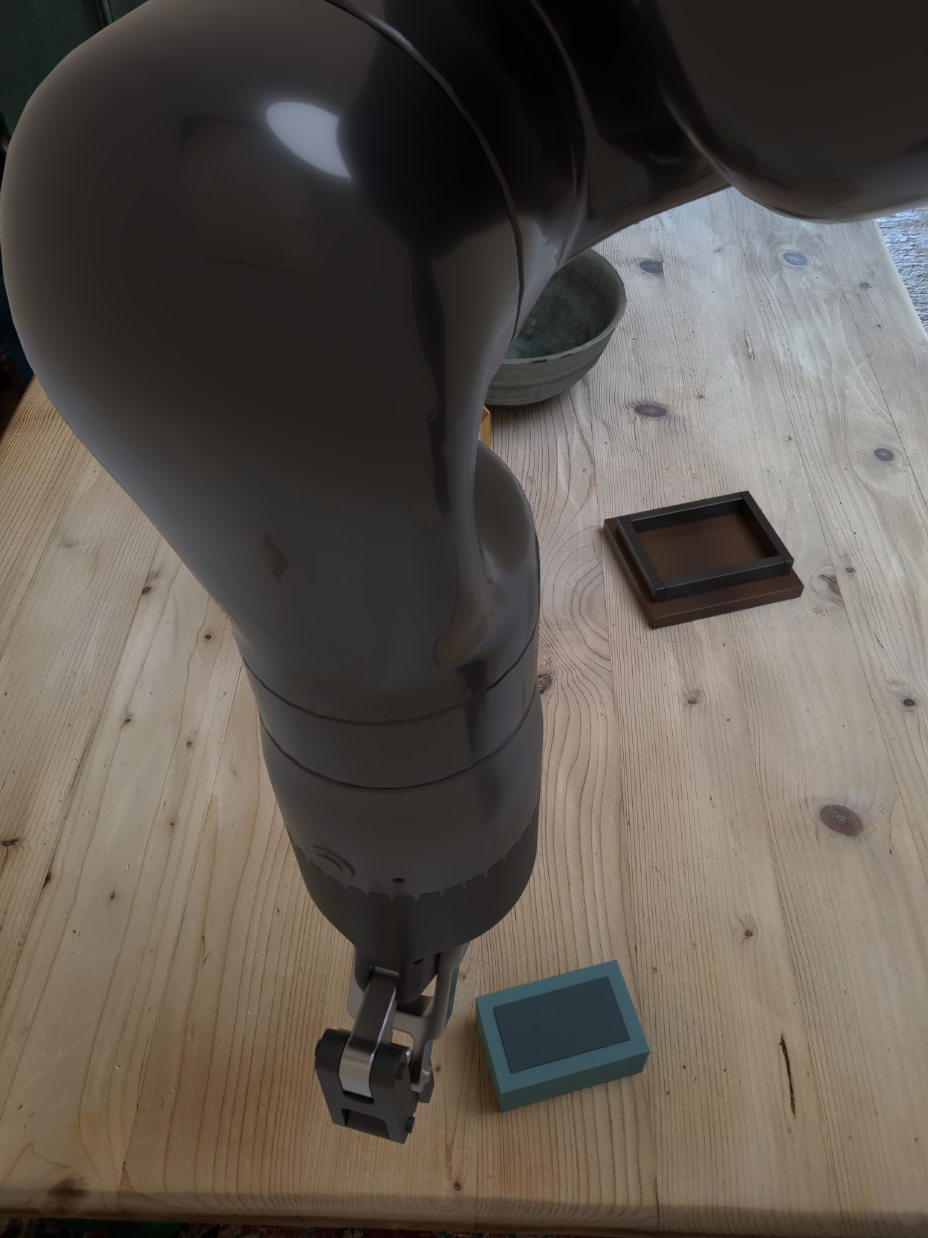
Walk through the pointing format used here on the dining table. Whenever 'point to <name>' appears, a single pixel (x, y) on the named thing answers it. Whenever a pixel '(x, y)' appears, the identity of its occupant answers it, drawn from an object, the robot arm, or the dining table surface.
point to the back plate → (703, 558)
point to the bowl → (561, 333)
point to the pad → (560, 1035)
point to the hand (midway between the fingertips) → (436, 980)
